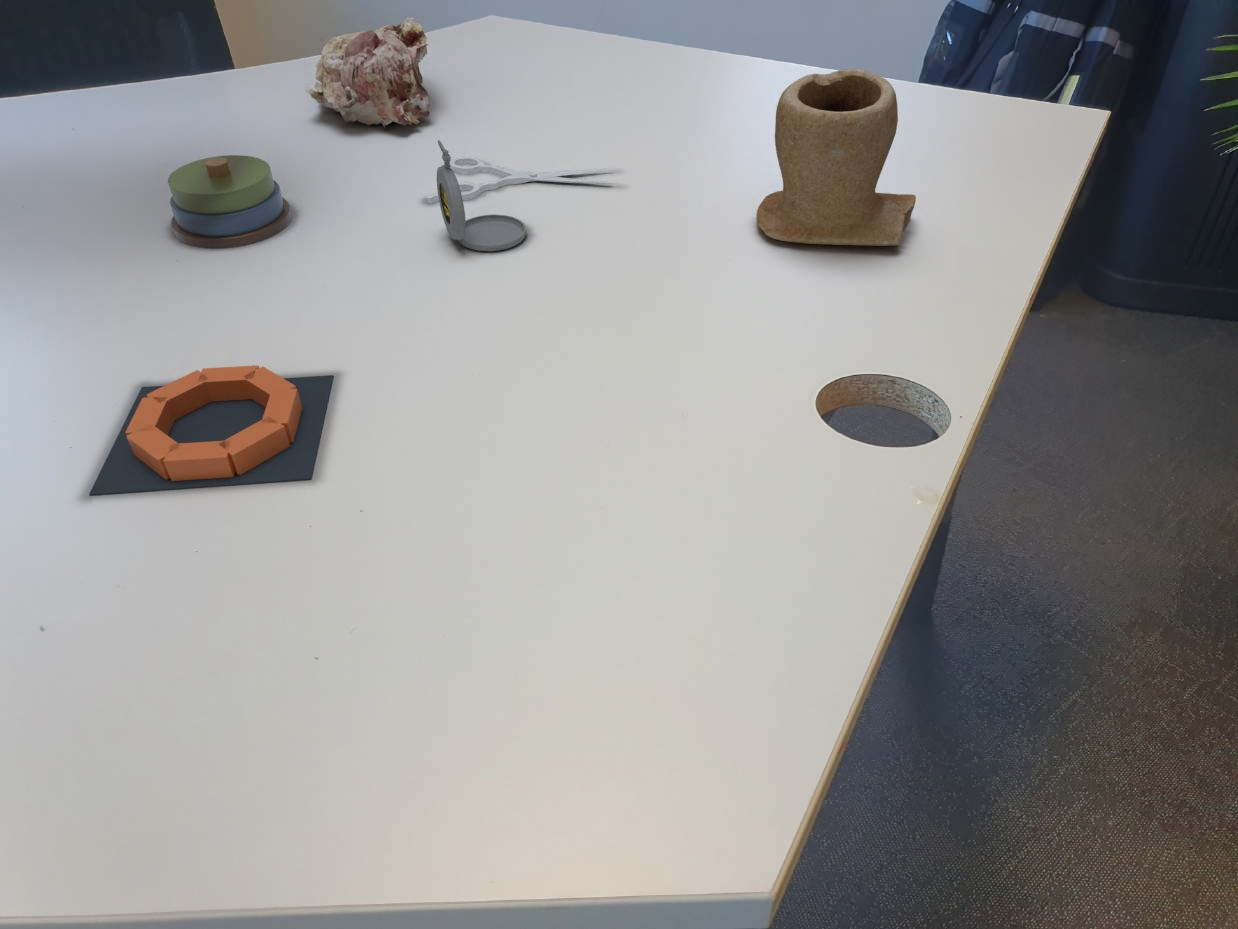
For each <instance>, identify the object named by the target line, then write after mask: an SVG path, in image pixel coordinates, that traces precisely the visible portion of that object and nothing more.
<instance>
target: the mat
mask: <svg viewBox="0 0 1238 929" xmlns="http://www.w3.org/2000/svg"><path fill="white" fill-rule="evenodd" d="M282 378H283V379H285V380H287V381H288V382H290V383H292V384H293V385H295V386H296V389H297V390H298V394H299V398H300V401H301V405H302V408H303V409H302V412H301V416H300V420H299V424H298V427H297V431H296V435H295V439H294V443H290V447H288V448H287V449H285V450H283V451H281V452H280V453H278V454H276V455H275V456H273V457H271V458H269V459H268V460H266V461H264V462H263V463H261V464H259V465H257V466H256V467H254V468H252V469H250V470H249V471H247V472H245V473H244V474H242V475H238V474H237V473H235V475H234V477H231V478H215V479H200V480H185V481H171V479H168V480H166V479H164V478H163V477H162V476H160V475H159V474H158V473H157V472H155V471H154V470H153V469H151V468H150V467H149V466H148V465H146V464H145V463H144V462H142V461H141V460H140V459H138V458H137V457H136V456H135V455H134V453H133V450H132V448H131V446H130V444H129V441H128V439H127V437H126V436H127V435H126V433H125V432H126V430H127V428H128V426H129V424H130V422H131V420H132V418H133V416H134V414H135V412H136V410H137V408H138V406H139V404H140V402H141V400H142V398H147V394H149V393H151V392H153V391H155V390H157V389H159V388H161V387H163V386H164V385H152V386H150V385H149V386H141V388H140V390H139V392H138V393H137V396H136V397H135V400H134V402H133V404H132V406H131V408H130V410H129V412H128V414H127V416H126V417H125V420H124V422H123V424H122V426H121V429H120V430H119V433H118V434H117V437H116V438H115V441H114V442H113V444H112V447H111V449H110V450H109V452H108V455H107V457H106V458H105V461H104V463H103V464H102V467H101V468H100V471H99V473H98V475H97V477H96V479H95V481H94V483H93V485H92V488H91V489H90V492H89V493H88V495H89V496H90V497H94V496H95V497H97V496H107V495H108V496H110V495H122V494H136V493H139V494H140V493H151V492H166V491H179V490H180V491H181V490H194V489H207V488H220V487H235V486H249V485H262V484H274V483H275V484H277V483H290V482H292V483H293V482H305V481H312V480H313V476H314V470H315V465H316V461H317V457H318V451H319V447H320V442H321V437H322V433H323V430H324V429H323V428H324V424H325V419H326V414H327V411H328V405H329V400H330V396H331V391H332V387H333V382H334V378H335V377H334V374H329V375H328V374H327V375H314V376H313V375H312V376H296V377H282ZM265 409H266V408H265V407H264V406H262V405H261V404H259V403H257V402H256V401H254V400H253V399H249V400H232V401H215V402H210V403H208V404H206V405H204V406H202V407H200V408H198V409H196V410H194V411H192V412H190V413H188V414H186V415H184V416H183V417H181V418H179V419H177V420H175V421H174V423H173V425H172V428H171V430H170V432H169V434H168V436H169V437H170V438H172V439H173V440H174V441H176V442H177V443H178V444H179V443H195V442H211V441H224V440H226V439H228V438H230V437H231V436H233V435H235V434H237V433H239V432H240V431H242V430H244V429H246V428H248V427H250V426H251V425H253V424H255V423H257V422H259V421H261V420H262V419H263V416H264V412H265Z"/></svg>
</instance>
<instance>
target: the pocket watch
mask: <svg viewBox="0 0 1238 929" xmlns="http://www.w3.org/2000/svg"><path fill="white" fill-rule="evenodd" d="M437 145H438V146H439V149H440V151H441V153H442V154H441V158H442V161H443V163H444V164H443V165H441V166H438V167H437V169H436V191H437V194H438V197H439V201H438V202H439V208H440V211H441V216H442V219H443V223H444V225H445V228H446V231H447V233H448V235H449V237H450V238H451V239H452V240H456V241H458V242H459V244H461V245H462V246H463V247H465V248H468V249H470V250H474V251H479V252H496V251H497V252H498V251H502V250H503V251H504V250H507V249H510V248H513V247H516V246H517V245H519V244H520V243H522V241H523V240H524V239H525V238H526V235H527V227H526V225H525V223H524V222H523V221H522V220H520V219H519V218H516V217H514V216H510V215H506V214H484V215H483V214H482V215H478V216H474V217H471V218H468V219H466V212H465V205H464V201H463V199H462V195H461V193H462V190H461V191H460V187H459V184H458V183H459V181H458V179H457V176H456V174H455V172H454V171H453V170H452V169H451V168H450V167H451V166H450V161H451V160H452V157H451V155H450V154H449V153H450V151H449V150H447V149H446V148H445V146H444V144H443V143H442V141H441V140H440V139H438V140H437Z"/></svg>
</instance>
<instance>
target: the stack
mask: <svg viewBox="0 0 1238 929" xmlns="http://www.w3.org/2000/svg"><path fill="white" fill-rule="evenodd" d="M270 166H271V165H270V164H269V163H268V162H267V161H265V160H263V159H261V158H259V157H254V156H249V155H238V154H236V155H235V154H233V155H231V154H230V155H228V154H227V155H219V156H211V157H206V158H202V159H198V160H195V161H191V162H189V163H186V164H184V165H181V166H180V167H178V168H176V169H175V170H174V171H172V172H171V173H170V175H169V176H168V178H167V185H168V187H169V191H170V194H171V197H170V199H169V204H170V207H171V211H172V214H173V215H172V217H171V221H170V225H171V228H172V232H173V234H174V237H175V238H176V239H177V240H178V241H179V242H181V243H182V244H185V245H187V246H190V247H194V248H198V249H209V250H210V249H214V250H215V249H217V250H219V249H233V248H241V247H244V246H249V245H253V244H257V243H259V242H263V241H265V240H268V239H270V238H272V237H274V236H276V235H278V234H280V233H281V232H283V231H284V230H285V229H286V228H288V226H289V225H290V224H291V221H292V218H293V214H292V210H291V206H290V204H289V202H288V200H286V199H285V198H284V197H283V195H282V192H281V188H280V187H281V186H280V185H279V183H278V182H277V181H276V180H274V177H273V174H272V169H271V167H270Z"/></svg>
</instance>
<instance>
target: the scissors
mask: <svg viewBox="0 0 1238 929" xmlns="http://www.w3.org/2000/svg"><path fill="white" fill-rule="evenodd" d="M466 165H467V166H466ZM469 165H471V166H469ZM450 166H451V167H450V168H451V169H452V170H453V172H454V173H457V174H461V175H462V174H463V175H472V174H477V173H490V174H495V175H498V176H500V177H502V178H499V179H497V180H494V181H490V182H484V183H483V182H482V183H474V182H469V181H461V182H460V181H459V182H458V184H459V187H460V191H461V195H462V199H463V202H464V201H469V200H472V199H475V198H477V197H478V196H479V195H480V194H483V193H484V192H487V191H496V190H498V189H499V188H501V187H504V186H510V185H512V186H513V185H520V184H525V183H528V182H532V183H535V182H548V183H549V182H550V183H566V184H567V183H568V184H569V183H570V184H590V185H592V184H593V185H618V183H617V182H607V181H598V180H591V179H590V180H589V179H580V178H570V177H565V176H570V175H577V174H578V175H579V174H586V173H592V172H599V171H600V172H601V171H607V170H615V169H616V167H614V168H612V167H611V168H593V169H592V168H591V169H574V170H560V171H548V172H546V171H545V172H533V171H527V170H514V169H505V168H502V167H500V166H499V165H487V164H486V163H485V162H483V161H482V160H481V159H479V158H475V157H467V156H465V157H464V156H463V157H457V158H454V159H451V160H450ZM562 176H563V177H562ZM462 191H464V192H462ZM426 202H427V204H434V203H437V202H439V197H438V193H435V194H428V195H426Z"/></svg>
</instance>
